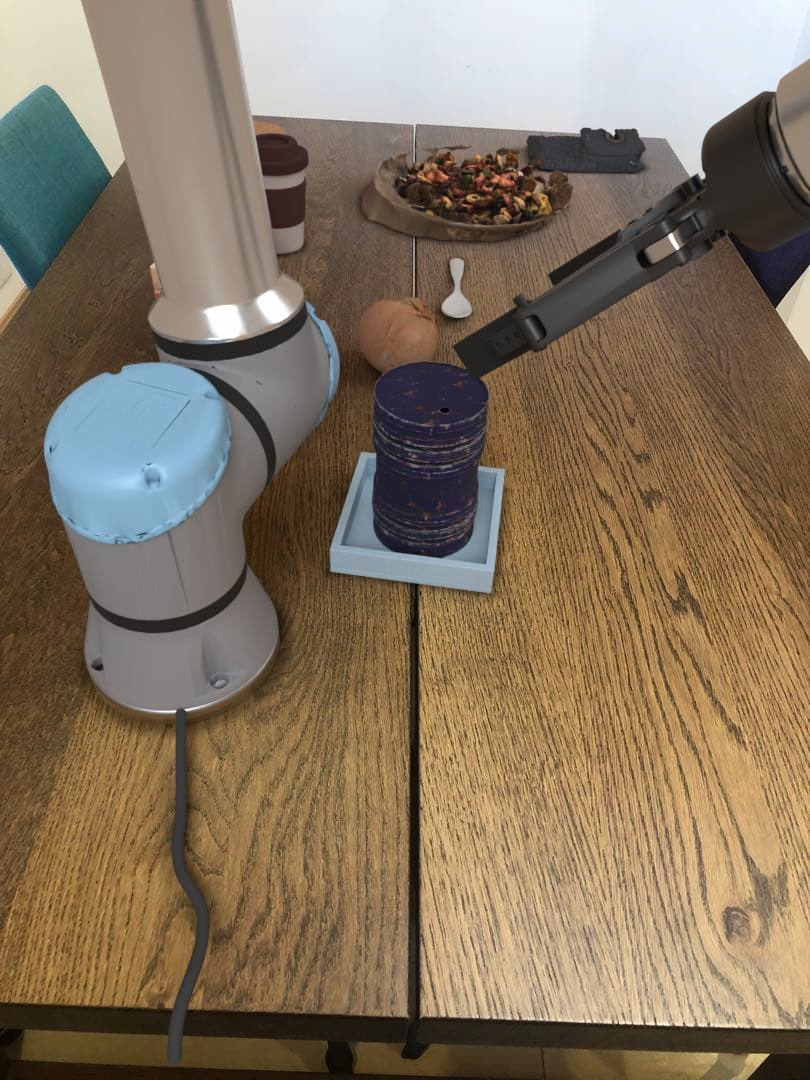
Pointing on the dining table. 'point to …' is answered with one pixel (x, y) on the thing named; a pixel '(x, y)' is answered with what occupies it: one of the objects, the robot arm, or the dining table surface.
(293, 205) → the coffee cup
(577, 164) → the dark slate chunk
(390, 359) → the onion
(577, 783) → the dining table surface
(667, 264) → the robot arm
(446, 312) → the spoon
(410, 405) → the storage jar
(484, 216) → the food dish
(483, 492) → the tray
